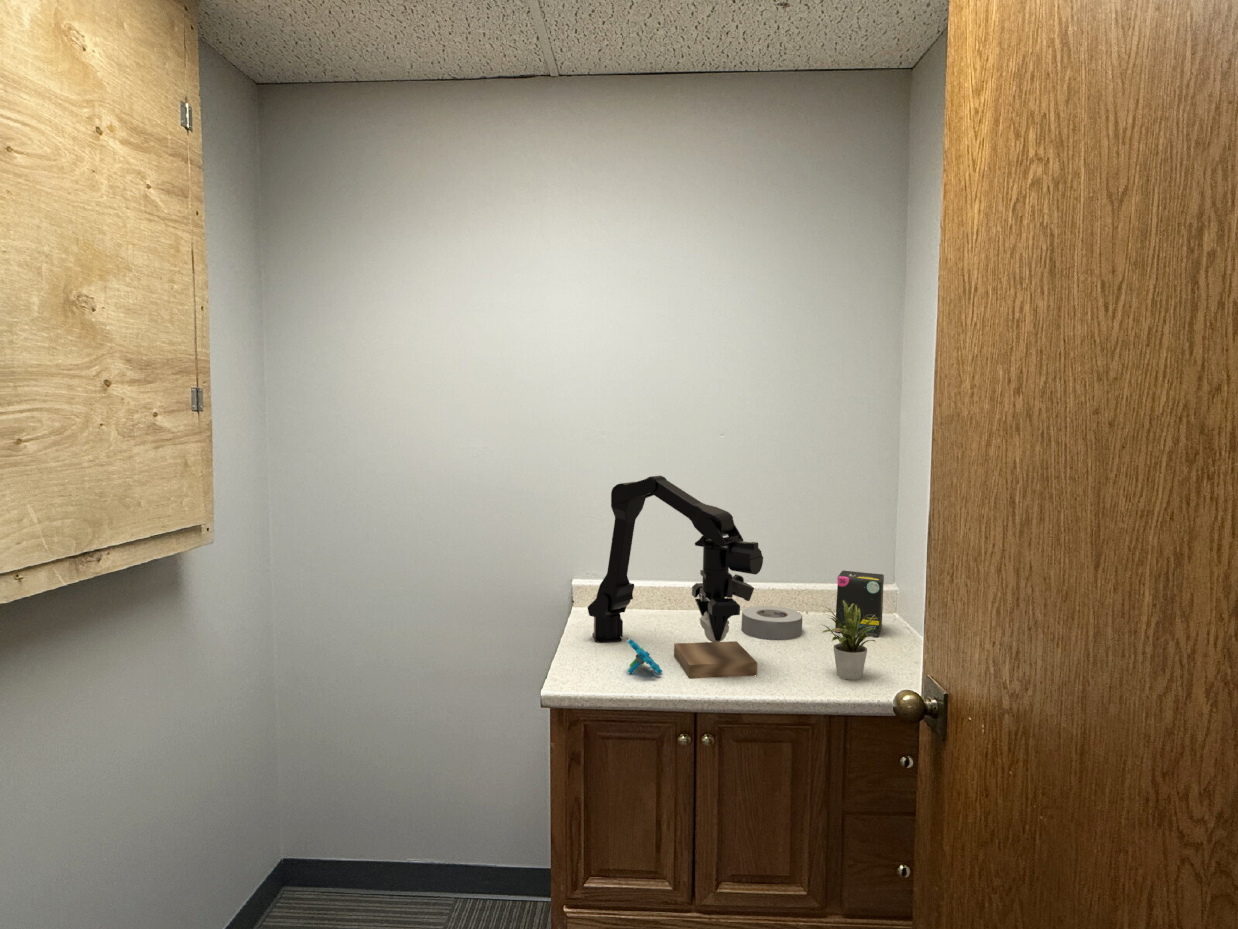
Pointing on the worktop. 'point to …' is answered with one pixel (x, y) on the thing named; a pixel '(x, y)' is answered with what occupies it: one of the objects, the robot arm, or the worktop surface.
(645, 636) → the worktop surface
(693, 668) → the walnut block
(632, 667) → the gear
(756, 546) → the robot arm
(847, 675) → the house plant
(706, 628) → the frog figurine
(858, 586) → the tampon box
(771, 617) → the tape roll
